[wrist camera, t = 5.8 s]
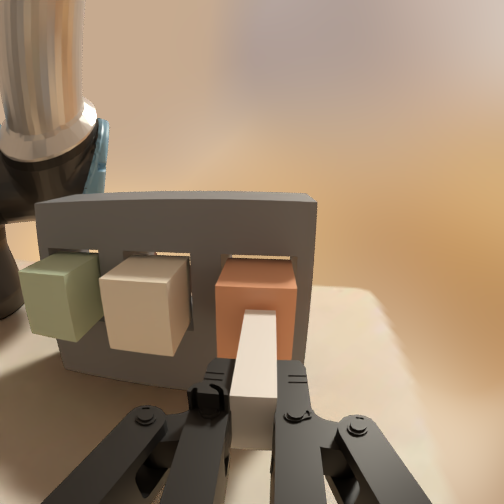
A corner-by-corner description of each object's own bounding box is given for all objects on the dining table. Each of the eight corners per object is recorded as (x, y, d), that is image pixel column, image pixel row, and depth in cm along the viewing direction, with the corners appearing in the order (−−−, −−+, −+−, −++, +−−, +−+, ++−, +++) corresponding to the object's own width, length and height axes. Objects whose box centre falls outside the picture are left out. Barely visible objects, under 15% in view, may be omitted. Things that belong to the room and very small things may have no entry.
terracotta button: (217, 360, 17) (215, 285, 16) (228, 319, 22) (227, 257, 21) (291, 363, 17) (297, 288, 16) (287, 322, 22) (291, 259, 20)
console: (64, 368, 23) (34, 203, 19) (94, 336, 29) (76, 194, 25) (299, 396, 22) (317, 202, 18) (295, 353, 28) (306, 193, 24)
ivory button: (110, 348, 17) (98, 278, 16) (139, 313, 22) (133, 254, 21) (173, 356, 17) (166, 283, 16) (192, 317, 22) (189, 256, 21)
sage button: (32, 333, 18) (18, 271, 16) (67, 304, 22) (59, 251, 21) (76, 342, 17) (63, 275, 16) (109, 310, 22) (102, 252, 21)
